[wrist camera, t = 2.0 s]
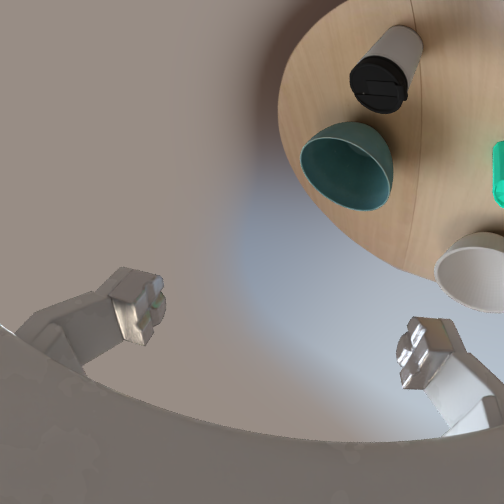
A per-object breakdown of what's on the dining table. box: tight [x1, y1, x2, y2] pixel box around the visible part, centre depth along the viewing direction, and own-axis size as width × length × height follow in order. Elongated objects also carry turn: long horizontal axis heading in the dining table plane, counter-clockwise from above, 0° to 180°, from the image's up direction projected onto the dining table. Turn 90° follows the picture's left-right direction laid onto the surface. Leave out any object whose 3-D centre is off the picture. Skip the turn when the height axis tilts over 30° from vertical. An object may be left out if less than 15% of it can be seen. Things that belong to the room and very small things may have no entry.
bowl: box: [434, 232, 504, 313], centre depth 47 cm, size 27×27×10 cm
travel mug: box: [350, 25, 423, 114], centre depth 25 cm, size 6×7×20 cm
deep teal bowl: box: [300, 122, 393, 211], centre depth 50 cm, size 18×18×12 cm
